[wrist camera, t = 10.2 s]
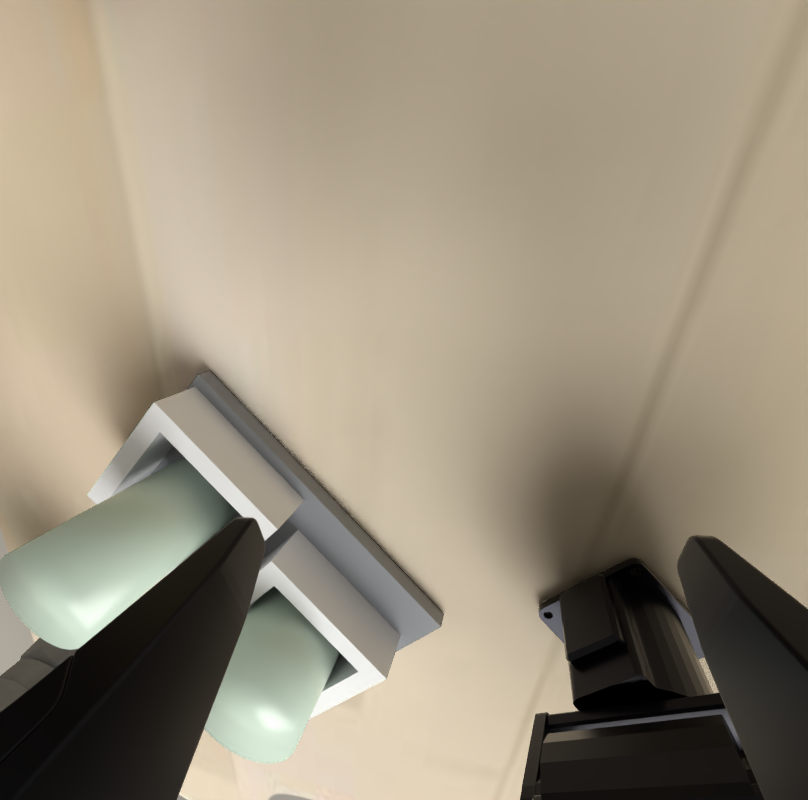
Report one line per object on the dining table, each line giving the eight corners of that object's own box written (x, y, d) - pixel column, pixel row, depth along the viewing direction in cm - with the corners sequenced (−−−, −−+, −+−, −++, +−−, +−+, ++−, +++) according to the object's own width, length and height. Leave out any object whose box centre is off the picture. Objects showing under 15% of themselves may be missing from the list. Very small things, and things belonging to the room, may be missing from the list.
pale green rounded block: (253, 477, 25) (95, 597, 16) (233, 533, 27) (82, 668, 18) (187, 436, 26) (-1, 530, 17) (172, 494, 28) (-3, 606, 19)
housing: (443, 614, 26) (413, 751, 19) (320, 684, 31) (257, 813, 24) (210, 370, 25) (81, 413, 18) (122, 484, 30) (-6, 554, 23)
